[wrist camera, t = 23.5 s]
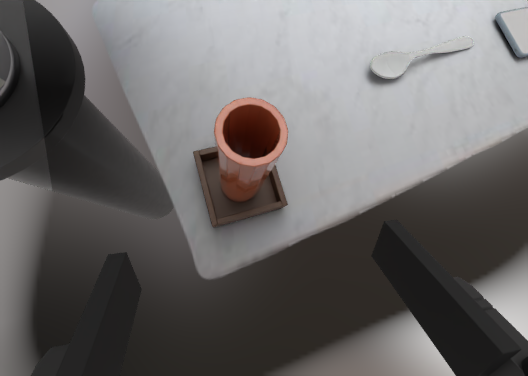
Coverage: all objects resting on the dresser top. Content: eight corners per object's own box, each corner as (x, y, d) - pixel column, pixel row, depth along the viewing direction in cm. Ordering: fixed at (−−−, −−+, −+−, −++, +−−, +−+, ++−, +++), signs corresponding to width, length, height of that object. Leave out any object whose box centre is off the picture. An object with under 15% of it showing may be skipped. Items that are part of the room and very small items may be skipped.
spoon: (358, 63, 35) (365, 55, 33) (465, 29, 39) (475, 21, 38) (372, 88, 35) (379, 81, 33) (478, 51, 39) (489, 43, 37)
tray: (213, 227, 27) (212, 226, 25) (195, 159, 29) (192, 151, 26) (282, 207, 29) (287, 204, 27) (262, 144, 30) (265, 135, 28)
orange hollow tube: (226, 207, 28) (225, 174, 14) (216, 170, 28) (206, 104, 15) (263, 196, 28) (297, 156, 15) (253, 161, 29) (275, 91, 16)
